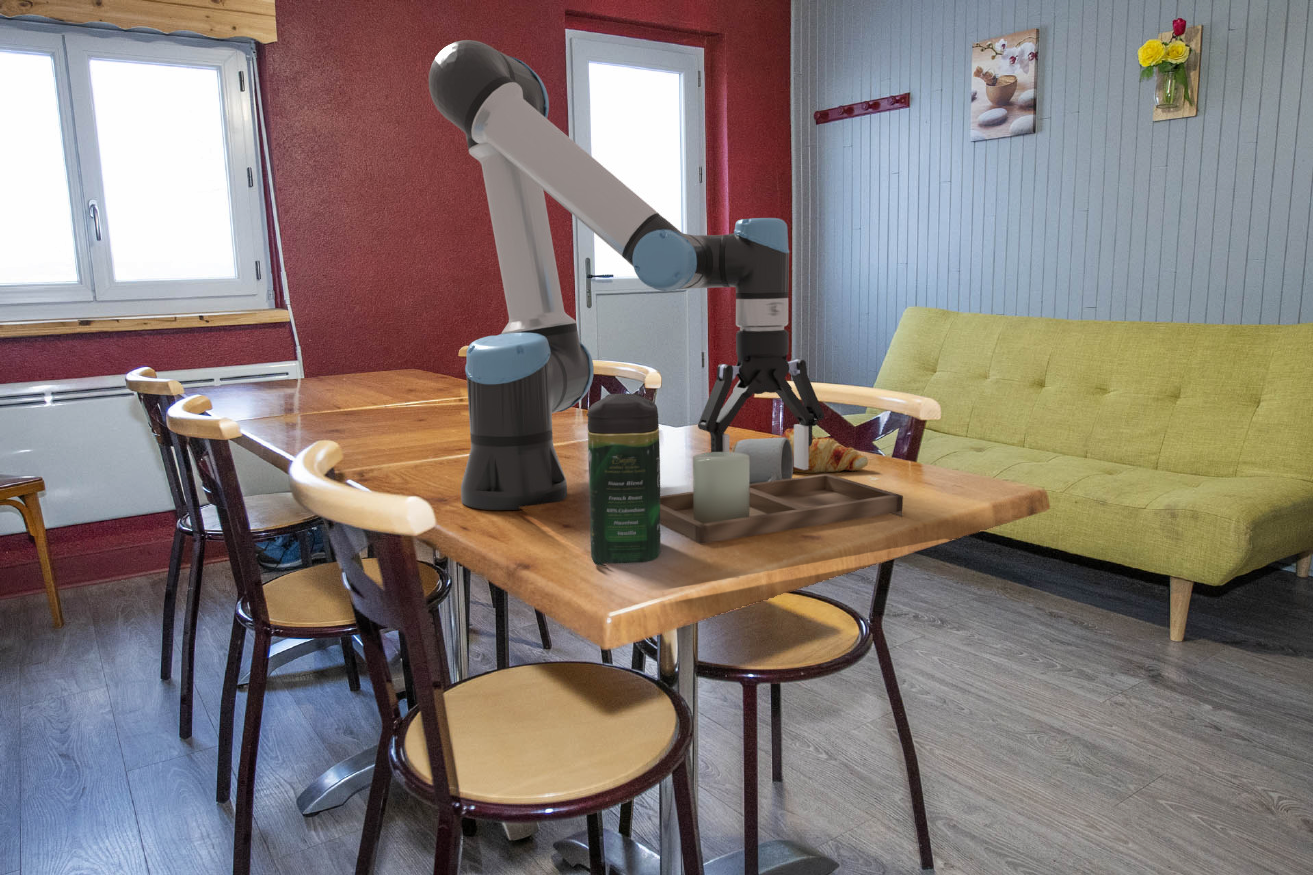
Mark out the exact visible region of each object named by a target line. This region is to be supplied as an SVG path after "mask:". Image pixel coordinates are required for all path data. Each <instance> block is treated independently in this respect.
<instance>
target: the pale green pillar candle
mask: <svg viewBox="0 0 1313 875" xmlns="http://www.w3.org/2000/svg"><path fill="white" fill-rule="evenodd" d="M692 486H693V487H692V492H693V508H694V520H696V521H698V522H700V523H703V524H704V523H711V522H717V521H724V520H730V519H737V518H744V517H750V479H749V456H748V455H746V454H742V453H736V452H731V451H730V452H711V451H710V452H704V453H702V452H701V453H698V454H695V455H693V456H692Z"/></svg>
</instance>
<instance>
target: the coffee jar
mask: <svg viewBox="0 0 1313 875" xmlns="http://www.w3.org/2000/svg"><path fill="white" fill-rule="evenodd" d="M658 409H659V408H658V407H657V404H656V403H655V402H653V401H651V400H650V399H648V398H645V397H644V396H643V395H642V394H639V393H610V394H607V395H605V397H603V398H602V399H600V400H598V401H596V402H594V403H592V404H591V405H590V407H588V412H587V414H586V416H587V450H588V451H587V452H588V453H587V454H588V457H587V458H588V489H589V490H588V491H589V492H588V494H589V515H590V516H589V524H590V525H589V526H590V527H589V531H590V532H589V534H590V535H589V536H590V538H589V539H590V558H591V560H592V562H593V563H594V564H595V565H596V566H599V567H600V566H601V567H607V565H606V564H637V563H640V564H641V563H647V562H650V561H652V562H653V561H655V560H656V559H658V558H659V556H660V554H661V534H662V533H661V524H660V496H661V455H660V454H661V450H660V426H659V411H658Z"/></svg>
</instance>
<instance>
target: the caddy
mask: <svg viewBox="0 0 1313 875" xmlns="http://www.w3.org/2000/svg"><path fill="white" fill-rule="evenodd" d="M903 502H904V496H903V495H901V494H898V493H895V492H891V491H888V490H884V489H881V488H878V487H874V486H871V485H868V484H864V483H860V482H857V481H853V480H850V479H847V478H843V477H840V476H837V475H833V474H830V473H823V474H815V475H808V476H807V475H806V476H800V477H792V478H791V479H782V480H776V481H768V482H761V483H754V484H750V517H744V518H737V519H730V520H724V521H717V522H711V523H704V524H703V523H700V522H698V521H696V520H694V508H693V491H688V492H681V493H680V492H679V493H674V494H665V495H660V526H663V527H664V528H667V529H669V530H671V531H673V532H675V533H676V534H678V535H680V536H682V537H684V538H686V539H688V540H690V541H692V542H694V543H697V544H699V545H703V544H709V543H710V544H711V543H716V542H720V541H721V542H723V541H729V540H733V539H735V540H736V539H741V538H747V537H753V536H758V535H759V536H760V535H764V534H765V535H766V534H770V533H771V534H772V533H777V532H783V531H790V530H797V529H802V528H808V527H814V526H820V525H826V524H834V523H838V522H840V523H841V522H845V521H852V520H858V519H863V518H869V517H875V516H883V515H890V514H891V515H894V516H898V517H900V518H903V512H904V511H903V510H904V508H903V504H904V503H903Z"/></svg>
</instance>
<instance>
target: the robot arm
mask: <svg viewBox="0 0 1313 875" xmlns="http://www.w3.org/2000/svg"><path fill="white" fill-rule="evenodd" d="M428 90H429V94H430V97H431V100H432V102H433V104H434V106H435V108H436V109H437V111H438V112H439V113H441V115H442V116H443V117H444V118H445V119H446V120H448V121H449V122H451V123H452V124H453V125H454V126H456V127H457V128H458V129H460V130H461V131H462V132H463V133H464V134H465V139H466V142H467V144H466V145H467V149H468V153H469V156H472V158H474V159H475V160H477V161H478V162H479V163H480V165H481V169H482V176H483V180H484V182H483V183H484V187H485V193H486V197H487V198H486V199H487V204H488V210H489V214H490V220H491V225H492V230H493V235H494V242H495V247H496V253H497V258H498V259H497V260H498V263H499V269H500V275H501V280H502V287H503V292H504V298H505V302H506V307H507V314H508V323H507V324H506V325H505V327H504V329H503V330H502V332H501V333H500V334H498V335H488V336H484V337H481V338H478V339H475V340H474V341H472V342H471V343H470V344H469V345H468V347H467V348H466V364H465V368H464V370H465V375H466V386H467V403H468V415H469V416H468V418H469V433H470V452H469V454H468V459H467V462H466V466H465V471H464V474H463V477H462V481H461V485H460V492H461V493H460V495H461V498H460V499H461V503H462V504H463V505H464V506H467V507H470V508H473V509H474V508H475V509H480V510H487V511H488V510H489V511H512V510H513V511H514V510H522V508H523V507H529V506H537V505H544V504H545V505H546V504H552V503H560V502H562V501H563V500H565V499H566V498H567V496H568V487H567V486H568V485H567V483H568V482H567V478H566V476H565V473H564V470H563V468H562V465H561V462H560V460H559V457H558V454H557V452H556V449H555V446H554V438H553V414H556V413H559V412H560V413H561V412H564V411H567V410H568V409H571V408H573V406H575V405H576V404H577V403H579V402H580V401H581V400H582V399H583V398H584V397H585V396H586V395H587V393H588V392H589V391H590V389H591V386H592V383H593V380H594V379H593V378H594V375H595V374H594V373H595V370H594V367H595V366H594V362H593V358H592V356H591V353H590V351H589V350H588V349H587V347H586V346H585V345H584V344H583V343H582V342H581V341H580V337H579V336H580V335H579V332H578V327H577V320H575V319H574V318H572V317H571V316H570V315H568V314H567V313H566V311H565V308H564V301H563V296H562V292H561V290H562V289H561V284H560V278H559V273H558V267H557V261H556V254H555V251H554V245H553V243H554V242H553V239H552V232H551V228H550V222H549V215H548V210H547V203H546V198H545V197H546V196H545V193H544V192H546V193H547V194H548V195H549V196H550V197H552V199H553V200H555V201H556V202H557V203H559V204H560V205H561V206H562V207H563V208H565V210H567V211H568V212H569V213H570V214H571V215H573V216H574V217H575V218H576V219H578V221H580V222H581V223H582V224H583V225H584V226H585V227H587V228H589V230H590V231H591V232H593V233H594V234H595V235H596V236H598V238H600V239H601V240H602V241H603V242H604V243H606V245H608V246H610V248H612V249H613V251H615V252H616V253H618V255H620V256H621V257H622V258H623V259H624V260H625V261H627V263H628V264H630V265H631V266H632V267H633V270H634V272H635V274H636V276H637V277H638V279H639V280H640V281H641V282H642V283H643V284H644V285H646V287H647V286H648V287H649V288H652V289H654V290H658V291H661V292H662V291H663V292H667V291H669V292H671V291H677V290H684V289H686V290H687V289H707V288H708V289H709V288H710V289H711V288H712V289H713V288H735V326H736V327H738V328H739V330H737V332H736V333H735V341H736V342H735V343H736V345H735V350H736V356H737V362H736V364H735V365H731V364H724V363H720V364H718V366H717V368H716V380H715V382H714V385H713V386H712V390H711V392H710V395H709V397H708V399H707V402H706V404H705V407H704V409H703V412H702V413H701V416H700V418H699V420H698V424H697V427H698V429H699V430H702V431H705V432H708V433H709V435H710V452H731V451H730V450H731V448H730V434H727V433H725V432H726V431H727V429H728V428H729V427H730V425H731V424H732V422H733V421H734V419H735V417H736V416H737V414H738V413H739V412H740V410H741V409H742V407H743V406H744V405H745V403H746V402H747V401H748V399H749V398H751V397H752V396H753V394H754V395H762V394H764V393H769V394H777V395H778V397H779V398H780V399H781V401H782V402H783V403H784V404H785V406H786V407H787V408H788V409H789V411H790V412H791V414H792V415H793V417H795V419H796V421H798V422H799V424H798V423H797V424H793V429H794V467H796V468H799V469H803V470H807V469H808V446H811V445H812V434H813V427H816V426H817V424H818V421H822V420H823V419H824V418H825V414H824V411H823V409H822V407H821V403H820V401H819V400H818V397H817V395H816V392H815V390H814V388H813V385H812V383H811V380H810V379H809V375H808V369H807V362H806V360H804V359H796V358H792V359H790V361H788V354H789V352H790V351H789V348H790V347H789V341H790V340H789V334H790V333H789V331H788V330H787V329H785V327H787V326H788V325H789V282H790V281H789V277H790V275H789V274H790V273H789V270H790V268H789V266H790V264H789V263H790V249H789V234H788V233H789V232H788V224H787V223H786V221H785V220H783V219H781V218H778V217H777V218H776V217H759V218H758V217H757V218H756V217H755V218H754V217H753V218H745V219H744V218H742V219H738V220H737V221H736V222H735V226H734V230H733V233H729V234H716V235H715V234H714V235H712V234H709V235H707V234H702V235H699V234H698V235H697V234H696V235H694V234H688V233H683V232H682V231H681V230H679V229H678V228H677V227H676V226H675V225H673V224H672V223H671V222H670V221H669V220H667V218H664V216H662V215H661V214H660V213H659V212H657V211H656V210H655V209H654V208H653V207H652V206H650V204H648V203H647V201H645V200H644V199H642V198H641V197H640V196H639V195H638V194H637V193H635V192H634V191H633V190H632V189H631V188H630V187H628V186H627V185H626V184H625V183H624V182H622V180H620V179H619V178H618V177H616V175H614V174H613V173H611V171H609V170H608V169H607V168H606V167H605V166H603V164H601V163H600V162H599V161H598V160H596V159H595V158H594V157H593V156H592V155H590V154H589V152H587V151H586V150H584V148H582V147H581V146H580V145H578V143H576V142H575V141H573V140H572V138H570V136H568V135H567V134H566V133H564V132H563V131H562V130H561V129H560V128H558V127H557V126H556V125H555V124H554V123H553V122H551V121H550V120H549V119H548V116H549V110H550V109H549V108H550V106H549V105H550V102H549V100H550V99H549V94H548V92H547V88H546V86H545V84H544V82H543V81H542V79H541V77H540V76H539V75H538V74H537V73H536V71H534V70H533V69H532V67H530V66H529V65H528V64H526V63H525V62H524V61H522V60H521V59H518V58H516V57H513V56H510V55H507V54H505V53H503V52H501V51H499V50H497V49H495V48H494V47H492V46H490V45H488V44H487V43H484V42H481V41H478V40H470V39H465V40H463V39H462V40H459V41H455V42H453V43H451V44H448V45H447V46H445V47H444V48H443V49H441V50H440V51H439V52H438V53H437V55H436V56H435V58H434V60H433V61H432V64H431V66H430V70H429V72H428ZM788 373H789V374H790V376H791V379H792V382H793V384H794V387H795V388H796V390H797V392H798V395H799V397H798V396H797V395H796V394H795V392H794V391H793V387H792V386H791V385H790V383H789V382H788V380H787V379H786V376H787V375H788ZM736 377H737V378H738V379H739V380H738V381H737V382H736V384H735V386H734V387H733V389H732V393H731V394H730V396H729V398H728V399H727V396H728V394H729V392H730V389H731V386H732V383H733V381H734V380H735V379H736ZM726 399H727V401H726ZM725 401H726V402H725Z"/></svg>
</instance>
